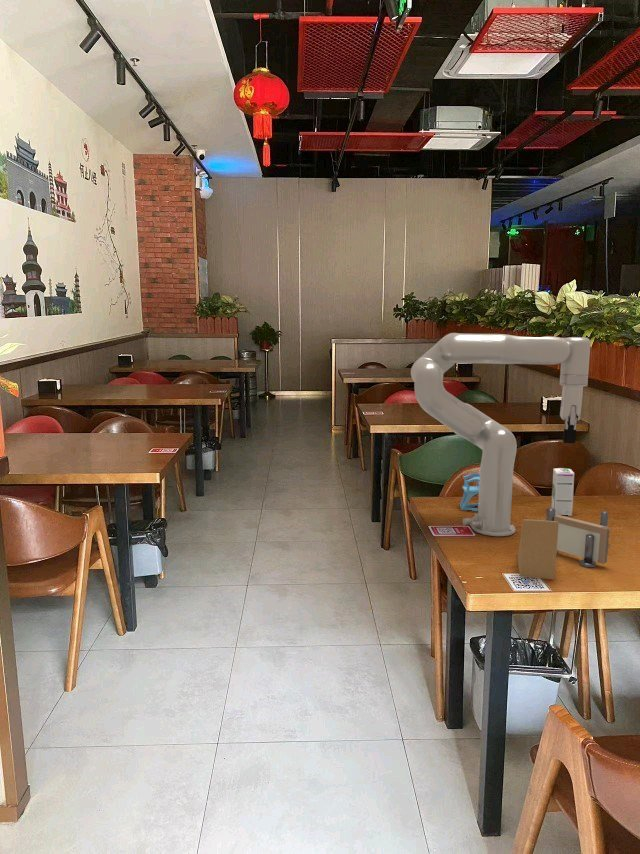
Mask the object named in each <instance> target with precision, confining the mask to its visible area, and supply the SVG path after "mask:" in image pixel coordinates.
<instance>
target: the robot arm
mask: <svg viewBox="0 0 640 854" xmlns="http://www.w3.org/2000/svg"><path fill="white" fill-rule="evenodd" d="M590 355H591V340H590V339H589V338H588V337H581V336H571V337H570V336H569V337H558V336H551V335H549V336H548V335H545V336H544V335H543V336H541V337H539V336H538V337H537V336H536V337H535V336H534V337H533V336H518V335H512V334H505V333H504V334H503V333H459V332H450V333H447V334H445V335H444V336H443V337H442V338H441V339H440V340H439V341H438V342H436V343H435V344H434V345H432V347H431V348H429V349H428V350H427V351H426V352H424V354H422V355H421V356H419V358H418V359H416V361H414V363H412V364H413V365H412V366H411V369H410V377H411V379H412V381H413V382H414V384H413V385H414V386H413V387H414V395H415V399H416V400H417V403H418V405H419V406H420V408H421V409H422V410H423V412H425V413H427V414H428V415H429V416H431V418H434V419H435V420H437V421H438V422H439V423H441V424H442V425H444V426H445V427H447V428H448V429H450V430H451V431H453V433H454V434H455V435H457V436H459V437H460V438H463V439H464V440H467V441H468V442H470V443H471V444H472V445H474V446H476V447H478V448H479V449H480V450H481V451H482V454H481V460H480V468H479V474H480V483H479V494H478V506H477V508H478V512H477V513H474V516H472V517H471V518H470V517H467V518H465V517H464V518H462V525H463V526H466V525H470V526H471V529H472V530H473V531H474V532H476V533H479V534H481V535H483V536H484V535H485V536H491V537H507V536H511V535H513V534H516V527H515V526H514V524H511V514H512V513H511V512H512V501H513V500H512V496H513V481H514V480H513V479H514V467H515V460H516V455H517V447H518V445H517V439H516V437H515V435H514V434H513V432H511V430H510V429H508V428H507V427H505V426H503V424H501V423H499V422H497V421H496V420H494V419H492V418H491V417H490V416H488V415H486V414H485V413H484V412H482V411H480V410H479V409H477V408H476V407H474V406H473V405H471V404H469V403H467V402H463V401H462V400H460V399H459V398H457V397H456V396H454V395H453V394H452V393H450V392H449V391H447V390H446V387H444V384H443V382H444V374H445V373H446V372H447V371H448V370H449V369H450V368H452V367H453V366H454V365H455V364H489V365H490V364H493V365H494V364H495V365H499V364H500V365H559V364H560V375H559V386H561V387H562V391H561V401H560V411H559V417H560V418H561V420H563V421H564V428H563V438H562V439H563V440H562V441H563V443H564V444H576V439H577V438H576V437H577V421H580V419H581V413H582V405H583V393H584V392H583V390H584V389H583V388H584V387H588V382H589V380H588V379H589V370H590V368H589V367H590Z"/></svg>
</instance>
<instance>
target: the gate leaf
mask: <svg viewBox="0 0 640 854" xmlns="http://www.w3.org/2000/svg"><path fill="white" fill-rule="evenodd" d="M554 521H556V522H558V523H559V527H558V542H557V550H558V552H559V551H560V552H561V553H566V554H569V555H573V556H576V557H578V558H582V559H584V553H585V541H586V535H587V534H590V535H594V546H593V558H592V561H595V562H596V563H598V564H599V563H600V564H602V565H605V564H607V562H608V553H609V548H608V543H609V540H610V533H611V527H610V526H608V527H606V526H602V525H600V524H597V523H593V522H590V521H586V520H581V519H579V518H573V517H571V516H561V515H555V516H554Z"/></svg>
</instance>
